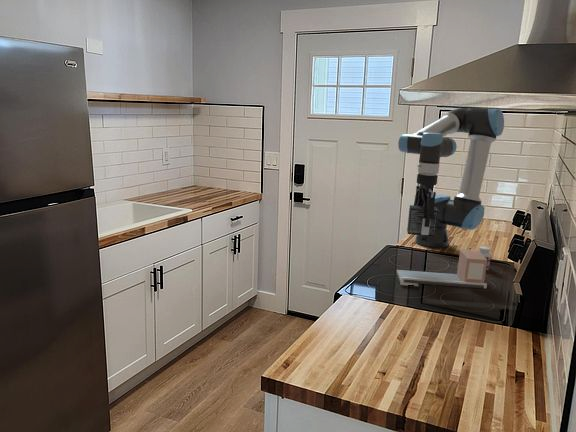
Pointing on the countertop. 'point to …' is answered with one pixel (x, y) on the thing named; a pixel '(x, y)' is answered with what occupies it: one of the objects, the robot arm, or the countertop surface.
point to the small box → (420, 221)
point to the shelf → (434, 279)
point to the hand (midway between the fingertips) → (420, 231)
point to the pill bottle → (485, 255)
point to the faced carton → (471, 266)
